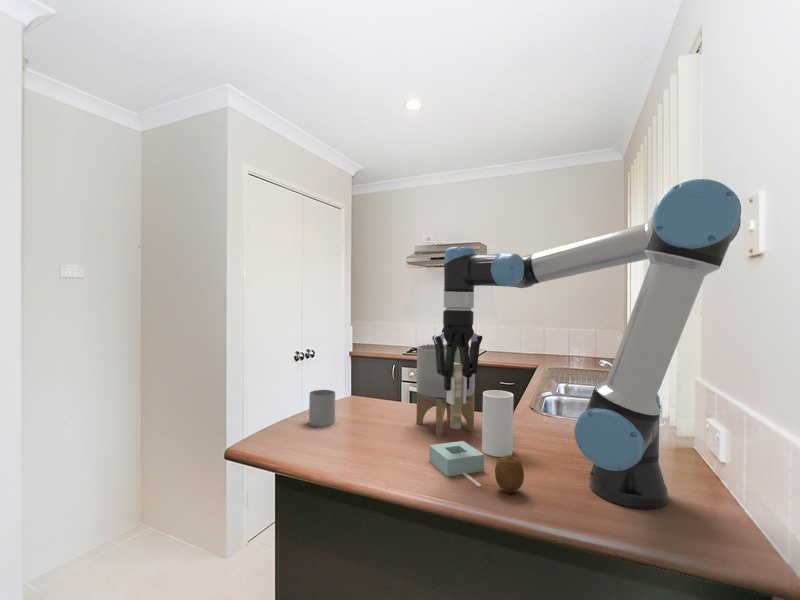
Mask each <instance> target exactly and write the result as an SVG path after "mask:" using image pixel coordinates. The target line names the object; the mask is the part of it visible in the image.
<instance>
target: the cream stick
mask: <svg viewBox="0 0 800 600" xmlns="http://www.w3.org/2000/svg"><path fill="white" fill-rule="evenodd" d="M462 475H463V476H464V477H465V478H466V479H468V480H469V481H470V482H472V483H473V484H474V485H476V487H478V488H479V487H482V484H481V483H479V482H478V481H477V480H475V479H474V477H471V476H470V475H469V473H467V474H466V473H463V474H462Z"/></svg>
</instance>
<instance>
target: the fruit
mask: <svg viewBox="0 0 800 600" xmlns="http://www.w3.org/2000/svg"><path fill="white" fill-rule="evenodd" d="M494 475H495V481H496V483H497V485H498V487H499V488H500V489H501V490H503V491H505V492H506V493H514V492H517V491H518V490H519V489H520V488H521V487H522V486H523V483H524V479H525V472H524V467H523V464H522V462H521V461H520V460H519V459H518V458H517V457H515V456H513V455H508V456H503V457H499V459H498V460H497V462H496V463H495V467H494Z"/></svg>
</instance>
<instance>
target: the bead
mask: <svg viewBox="0 0 800 600" xmlns="http://www.w3.org/2000/svg"><path fill="white" fill-rule="evenodd" d="M428 450H429V453H428V454H429V455H428V461H429V462H430V463H431V464H432V465H433V466H434V467H436V469H438V470H439V471H440V472H441V473H443V474H444V475H445V476H446V477H447V478H448V477H453V476H454V477H455V476H460V475H463V473H466V474H473V473H479V472H484V471H485V470H484V469H485V468H484V467H485V458H484V457H485V453H482V452H481V451H480V450H478V449H476V448H474V447H473V446H472V445H470V444H469V443H467V442H466V441H464V440H461V441H451V442H445V443H438V444H437V443H436V444H430V445H429V449H428Z"/></svg>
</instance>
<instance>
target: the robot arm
mask: <svg viewBox="0 0 800 600" xmlns="http://www.w3.org/2000/svg"><path fill="white" fill-rule="evenodd" d="M741 216H742V205H741V200H740V198H739V196H738V195H737V194H736V193H735V191H733V189H731V188H730V187H728V186H727V185H725V184H724V183H722V182H719V181H717V180H713V179H708V178H696V179H695V178H694V179H690V180H687V181H683V182H680V183H678V184H676V185H674V186H673V187H671V188H669V189H668V190H667V191H666V192H664V193H663V194H662V196H661V197H660V198H659V199H658V201H657V202H656V204H655V206H654V210H653V212H652V216H651V217H650V218H649V220H647V222H646V223H642V224H639V225H635V226H631V227H628V228H625V229H619V230H616V231H613V232H610V233H605V234H601V235H598V236H594V237H589V238H587V239H583V240H580V241H579V240H578V241H576V242H573V243H568V244H564V245H560V246H556V247H553V248H549V249H546V250H542V251H539V252H538V251H537V252H534V253H532V254H528V255H527V254H526V255H524V256H521V255H520V254H519V253H512V252H511V253H509V252H501V253H489V254H476V250H475V249H474V248H473V247H469V246H453V247H448V248H447V249H446V250H445V251H444V263H443V268H444V269H443V270H444V271H443V272H444V273H443V275H444V278H443V279H444V280H443V281H444V283H443V284H444V287H443V308H445V309H443V312H442V313H443V314H442V315H443V316H442V317H443V318H442V324H443V328H442V330H441V333H439V334H436V335H432V337H431V338H432V341H433V344H435V351H436V365H437V373H438V374H440V375H442V376H444V389H445V390H447V401H446V402H447V403H449V404H451V405H454V394H455V378H453V377H452V373H453V366H454V359H455V352H456V350H457V347H458V348H459V352H460V362H461V364H463V372H462V375H463V376H462V403H463V404H466V393H467V389H469V378H470V377H472V374H475V375H476V374H477V372H478V364H479V354H480V346H481V343H482V340H483V336H482V335H479V334H477V333H475V332H474V329H473V325H474V314H475V313H474V310H472V309H474V307H475V303H474V302H475V287H479V286H485V287H489V286H490V287H505V288H507V287H510V288H518V289H524V288H525V289H526V288H529V287H532V286H534V285H536V284H540V283H544V282H548V281H554V280H558V279H562V278H568V277H573V276H576V275H580V274H581V275H582V274H586V273H590V272H596V271H599V270H604V269H609V268H613V267H619V266H623V265H627V264H632V263H637V262H641V261H645V260H649V265H648V268H647V270H646V273H645V275H644V279H643V281H642V284H641V285H640V286H641V287H640V289H639V292H638V295H637V297H636V300H635V302H634V305H633V308H632V310H631V314H630V316H629V319H628V322H627V324H626V327H625V329H624V332H623V335H622V338H621V340H620V342H619V345H618V349H617V351H616V354H615V356H614V359H613V362H612V364H611V367H610V370H609V373H608V375H607V378H606V380H605V381H602V382H600V383H597V384H595V386H594V388H593V390H592V393H591V396H590V399H589V401H588V403H587V406H586V409H585V411H584V412H582V413H581V414H580V415H579V417H577V420H576V423H575V425H574V439H575V442H576V445H577V446H578V448H579V450H580V452H581V454H582V455H583V456H584V457H585V458H586V459H587V460H588V461H589V462H591V463H592V464H593V466H592V467H591V468H592V469H591V471H590V473H589V476H588V477H589V478H588V479H589V481H588V482H589V488H590V489H591V491H592V492H594V493H595V494H596V495H598V496H599V497H600V498H603V499H605V500H607V501H609V502H612V503H614V504H617V505H621V506H623V507H624V506H625V507H628V508H629V507H630V508H634V509H644V510H653V509H654V510H655V509H660V508H663V507H664V506H666V505H667V504H668V502H669V501H668V498H669V495H668V494H669V492H668V488H667V485H666V482H665V480H664V475H663V473H662V469H661V466H660V463H659V462H660V461H659V460H660V459H659V457H660V455H659V453H660V421H661V419H660V415H661V412H662V410H661V409H662V406H661V400H660V396H659V394H658V393H659V391H660V388H661V386H662V383H663V380H664V378H665V376H666V374H667V371H668V369H669V366H670V363H671V361H672V358H673V356H674V354H675V351H676V349H677V347H678V343H679V342H680V339H681V336H682V334H683V331H684V329H685V326H686V324H687V321H688V319H689V316H690V314H691V312H692V309H693V307H694V304H695V302H696V299H697V297H698V294H699V292H700V289H701V286H702V284H703V282H704V279H705V277H706V276H707V275H709V274H711V273H713V272H716V271H717V270H719V269H720V268H721V265H722V263H723V261H724V259H725V256H726V254H727V251H728V248H729V247H730V244H731V242H732V241H733V240H734V239H735V238H736V236H737V235H738V233H739V230H740V228H741V224H742V223H741V222H742V221H741ZM445 341H446V344H447V345H446V349H447V352H446V359H445V356H444V345H443V344H444V342H445ZM470 341H471V342H470ZM469 342H470V344H469ZM469 346H470V355H469V353H468V350H469Z"/></svg>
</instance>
